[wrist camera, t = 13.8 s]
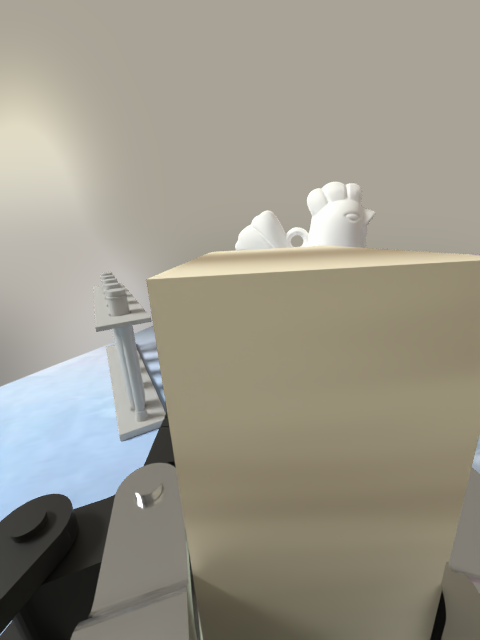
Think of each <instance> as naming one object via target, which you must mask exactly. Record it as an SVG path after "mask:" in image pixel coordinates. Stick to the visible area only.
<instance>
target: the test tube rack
mask: <svg viewBox="0 0 480 640" xmlns="http://www.w3.org/2000/svg"><path fill="white" fill-rule="evenodd" d="M101 280H102V285H103V286H95V287H93V291H94V309H95V326H96V332H98V331H104V330H109V329H112V332H113V337H114V342H115V345H111V346H106V350H107V356H108V363H109V370H110V377H111V383H112V390H113V397H114V403H115V410H116V417H117V424H118V431H119V437H120V441H124V440H127V439H129V438H132V437H135V436H138V435H140V434H143V433H146V432H149V431H152V430H154V429H157V428H160V426H161V424H162V421H163V419H164V417H165V414H166V412H165V410H164V408H163V406H162V404H161V401H160V399H159V397H158V395H157V392H156V390H155V388H154V386H153V384H152V381H151V379H150V377H149V375H148V372H147V370H146V368H145V366H144V363H143V361H142V359H141V357H140V354H139V352H138V350H137V348H136V342H135V337H134V332H133V327H132V325H136V324H141V323H146V322H151V317H150V316H149V315H148V314H147V312H146V311H145V310H144V309H143V308H142V307H141V305H140V304H139V303H138V302H137V300H136V299H135V298H134V297H133V296H132V294H131V293H130V292H129V291H128V290H127V288H126V287H125V286H124V285H123V284H122V283H118V282H117V279H115V277H114V275H112V272H108V273H101Z"/></svg>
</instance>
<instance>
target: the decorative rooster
mask: <svg viewBox="0 0 480 640" xmlns="http://www.w3.org/2000/svg"><path fill="white" fill-rule="evenodd" d="M361 197H362V191H361V188H360V186H359V185H358V184H355V183H350V184H347V185H345V184H343V183H341V182H331V183H328V184H326V185H325V186H324V187H323V188H322V189H319V188H318V189H315V190H313V191H311V193H310V194H309V195H308V198H307V205H308V208H309V210H310V212H311V214H312V221H311V226H310V232H309V234H308V232H307V231H306V230H305V229H303V228H296V227H295V228H292V229H291V230H290V231H288V232H287V234H286V233H285V232H284V229H283V227H282V225H281V223H280V221H279V220H278V218H277V217H276V216H275V214H274V213H273V212H271V211H264V212H263V213H261V214H260V215H259V216H256V217H255V218H254V219H253V220H252V224H251V225H249V226H247V227H246V228H245V229H244V230H242V231H241V233H240V234H239V238H238V241H237V243H236V246H235V248H236V251H239V250H256V249H273V248H290V247H293V246H292V245H291V238H292V237H293V236H295V235H300V236H301V237H302V238H303V241H304V242H303V245H302V246H301V247H307V246H324V245H325V246H341V247H357V248H366V234H367V225H368V224H369V222H370V221H371V219H372V218H373V217H374V215H375V211H371V210H369V209H366V208H363V207H362V205H361Z"/></svg>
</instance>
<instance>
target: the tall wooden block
mask: <svg viewBox="0 0 480 640" xmlns="http://www.w3.org/2000/svg"><path fill="white" fill-rule="evenodd" d="M146 281H147V287H148V293H149V300H150V307H151V313H152V319H153V326H154V332H155V338H156V345H157V351H158V357H159V364H160V370H161V376H162V383H163V389H164V396H165V402H166V408H167V415H168V421H169V427H170V434H171V440H172V446H173V453H174V459H175V466H176V472H177V478H178V485H179V491H180V497H181V504H182V510H183V516H184V523H185V529H186V535H187V542H188V548H189V555H190V561H191V567H192V574H193V580H194V586H195V593H196V599H197V605H198V612H199V618H200V624H201V631H202V637H203V640H430V638H431V634H432V630H433V626H434V621H435V617H436V613H437V609H438V605H439V601H440V596H441V592H442V587H441V582H442V578H443V574H444V569H445V565H446V562H449V559H450V555H451V551H452V547H453V542H454V538H455V534H456V530H457V526H458V522H459V517H460V513H461V509H462V505H463V501H464V497H465V492H466V488H467V484H468V480H469V476H470V472H471V467H472V463H473V459H474V455H475V451H476V447H477V443H478V438H479V434H480V255H466V254H450V253H435V252H420V251H403V250H388V249H373V248H357V247H341V246H325V245H324V246H307V247H290V248H273V249H256V250H239V251H222V252H210V253H208V254H206V255H203V256H201V257H199V258H196V259H194V260H192V261H189V262H187V263H184V264H182V265H179V266H177V267H175V268H172V269H170V270H168V271H165V272H163V273H160V274H158V275H156V276H153V277H151V278H148V279H146Z"/></svg>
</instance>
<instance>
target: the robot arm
mask: <svg viewBox="0 0 480 640" xmlns="http://www.w3.org/2000/svg"><path fill="white" fill-rule="evenodd" d="M441 587H442V592H441V596H440V601H439V605H438V609H437V613H436V617H435V621H434V626H433V630H432V634H431V638H430V640H480V474H479V473H478V472H477V471H476V470H474V469H473V468H472V467H471V472H470V476H469V480H468V484H467V488H466V492H465V497H464V501H463V505H462V509H461V513H460V517H459V522H458V526H457V530H456V534H455V538H454V542H453V547H452V551H451V555H450V559H449V562H446V565H445V569H444V574H443V578H442V582H441ZM11 620H12V622H11V624H10V625H9V626H8V627H7V629H6V630H5V631H4V632H3V633H2V635H1V636H0V640H202V636H201V625H200V618H199V612H198V605H197V599H196V593H195V586H194V580H193V574H192V567H191V561H190V555H189V548H188V542H187V535H186V529H185V523H184V516H183V510H182V504H181V497H180V491H179V485H178V478H177V472H176V466H175V459H174V453H173V446H172V440H171V434H170V427H169V421H168V415H167V412H166V414H165V417H164V419H163V421H162V424H161V426H160V429H159V431H158V433H157V436H156V438H155V441H154V443H153V445H152V448H151V450H150V452H149V455H148V457H147V460H146V462H145V464H144V466H143V467H141V468H139V469H137V470H136V471H134V472H133V473H131V474H130V475H129V476H128V477H127V478H126V479H125V480H124V481H123V482H122V483H121V485H120V486H119V488H118V490H117V492H116V494H115V495H113V496H111V497H109V498H106V499H104V500H101V501H98V502H94V503H91V504H88V505H85V506H82V507H79V508H76V509H73V507H72V503H71V501H70V499H69V498H68V497H66V496H64V495H61V494H49V495H45V496H41V497H38V498H35V499H33V500H31V501H29V502H27V503H25V504H23V505H22V506H20V507H19V508H17V509H16V510H14V511H13V512H11V513H10V514H9V515H8V516H6V517H5V518H4V519H3V520H2V521H1V522H0V633H1V632H2V631H3V630H4V629H5V627H6V626H7V625H8V624H9V623H10V621H11Z"/></svg>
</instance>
